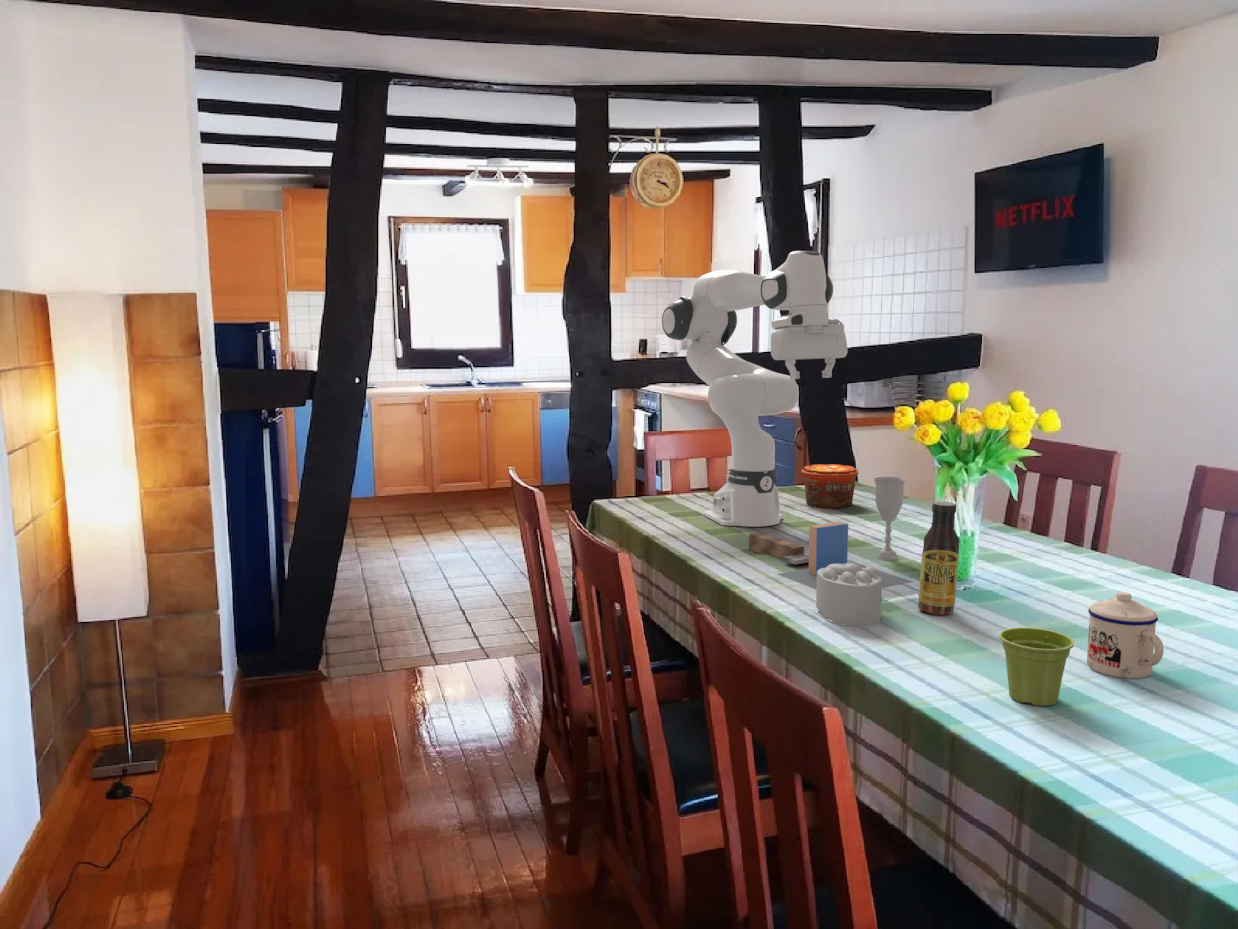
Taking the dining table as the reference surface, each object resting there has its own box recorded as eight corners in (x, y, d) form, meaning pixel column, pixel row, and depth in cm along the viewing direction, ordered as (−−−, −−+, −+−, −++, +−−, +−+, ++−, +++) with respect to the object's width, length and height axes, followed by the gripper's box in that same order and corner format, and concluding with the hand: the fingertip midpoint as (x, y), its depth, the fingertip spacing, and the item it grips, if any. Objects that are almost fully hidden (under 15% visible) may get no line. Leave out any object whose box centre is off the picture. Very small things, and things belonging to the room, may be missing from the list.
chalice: (905, 565, 199) (908, 482, 197) (872, 564, 201) (874, 481, 198) (901, 557, 206) (904, 477, 204) (870, 555, 208) (872, 476, 205)
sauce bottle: (918, 615, 165) (922, 505, 162) (917, 605, 171) (921, 499, 168) (957, 617, 163) (962, 507, 160) (955, 607, 169) (959, 500, 166)
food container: (789, 502, 271) (790, 466, 269) (832, 497, 278) (833, 462, 277) (825, 512, 257) (825, 473, 255) (869, 506, 264) (870, 469, 263)
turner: (740, 552, 213) (740, 535, 213) (768, 547, 217) (768, 531, 216) (794, 571, 196) (795, 553, 195) (824, 566, 200) (825, 548, 199)
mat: (776, 576, 191) (776, 573, 191) (852, 564, 200) (852, 561, 200) (834, 598, 175) (834, 595, 175) (913, 584, 184) (913, 581, 184)
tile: (808, 573, 192) (809, 525, 190) (839, 568, 195) (840, 521, 194) (816, 576, 189) (817, 528, 188) (846, 570, 193) (848, 523, 191)
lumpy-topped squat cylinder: (864, 603, 173) (866, 558, 171) (892, 625, 160) (893, 576, 159) (810, 605, 172) (811, 560, 170) (833, 628, 159) (834, 579, 158)
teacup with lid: (1071, 661, 142) (1075, 587, 140) (1121, 655, 144) (1126, 582, 142) (1131, 690, 130) (1137, 610, 129) (1185, 684, 132) (1191, 605, 131)
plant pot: (982, 688, 132) (984, 629, 130) (1039, 682, 134) (1043, 624, 133) (1024, 715, 123) (1028, 652, 121) (1086, 707, 125) (1090, 646, 123)
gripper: (834, 320, 225) (837, 377, 226) (765, 321, 216) (768, 380, 217) (852, 317, 220) (854, 376, 221) (781, 318, 211) (784, 379, 211)
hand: (811, 378), depth 219 cm, fingers open, 8 cm apart
